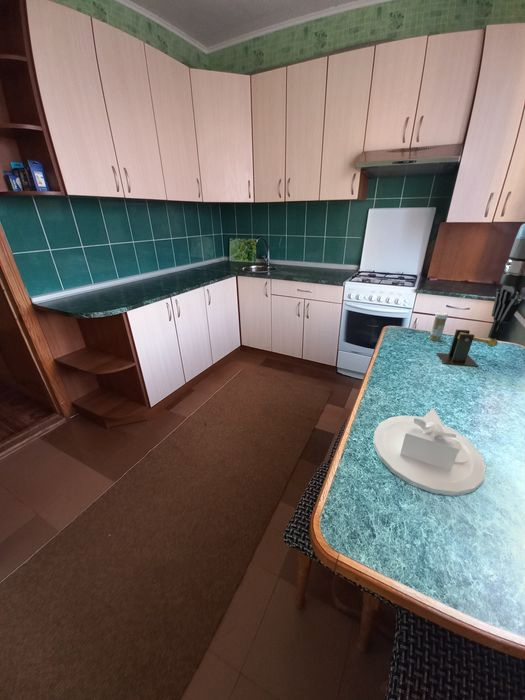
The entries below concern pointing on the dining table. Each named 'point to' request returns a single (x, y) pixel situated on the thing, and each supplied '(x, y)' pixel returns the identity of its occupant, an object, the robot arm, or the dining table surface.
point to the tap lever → (483, 340)
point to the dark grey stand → (459, 350)
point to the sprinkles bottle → (438, 326)
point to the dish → (429, 454)
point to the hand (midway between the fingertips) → (492, 337)
